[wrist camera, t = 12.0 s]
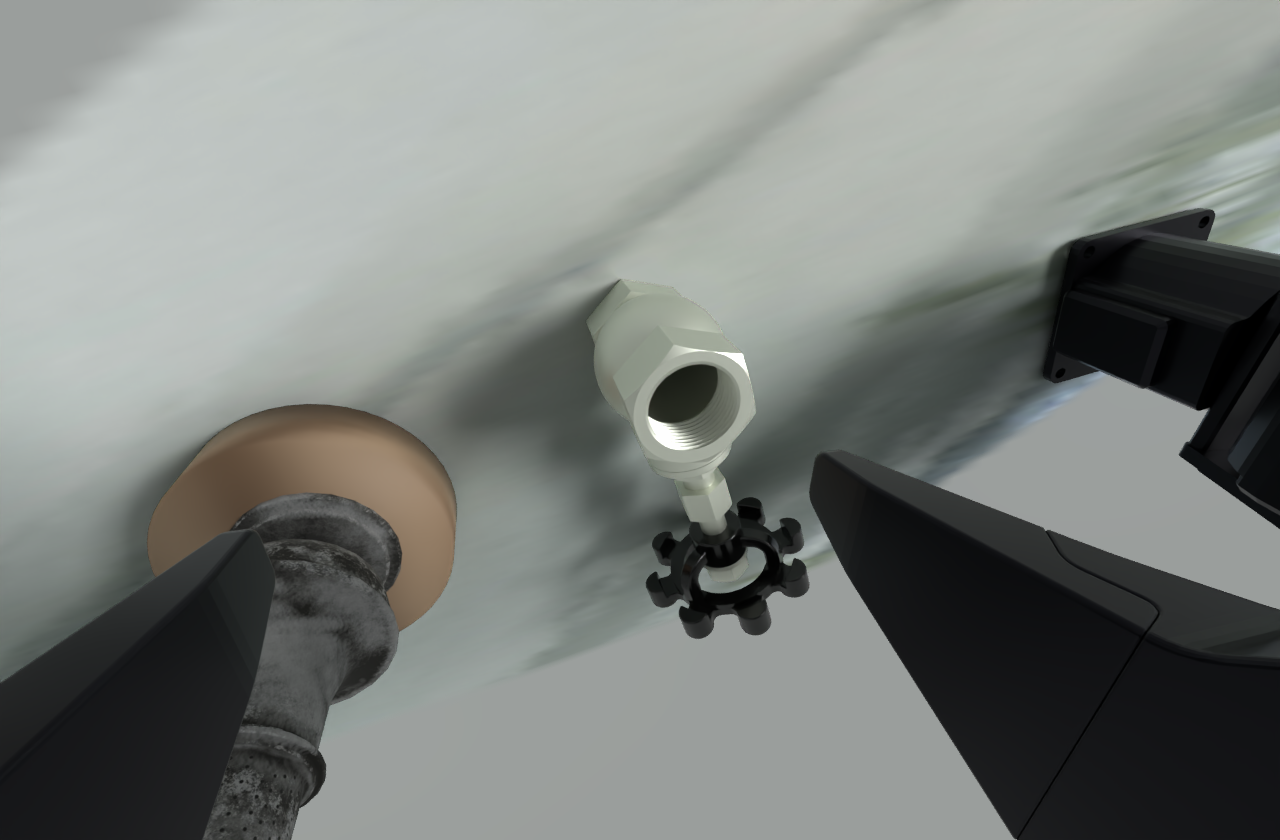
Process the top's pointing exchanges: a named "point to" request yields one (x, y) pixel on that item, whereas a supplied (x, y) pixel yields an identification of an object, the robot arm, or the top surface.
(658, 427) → the valve
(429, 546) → the tan round disc
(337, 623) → the salt shaker
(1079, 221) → the top surface
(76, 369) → the top surface
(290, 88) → the top surface
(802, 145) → the top surface
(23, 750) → the robot arm
